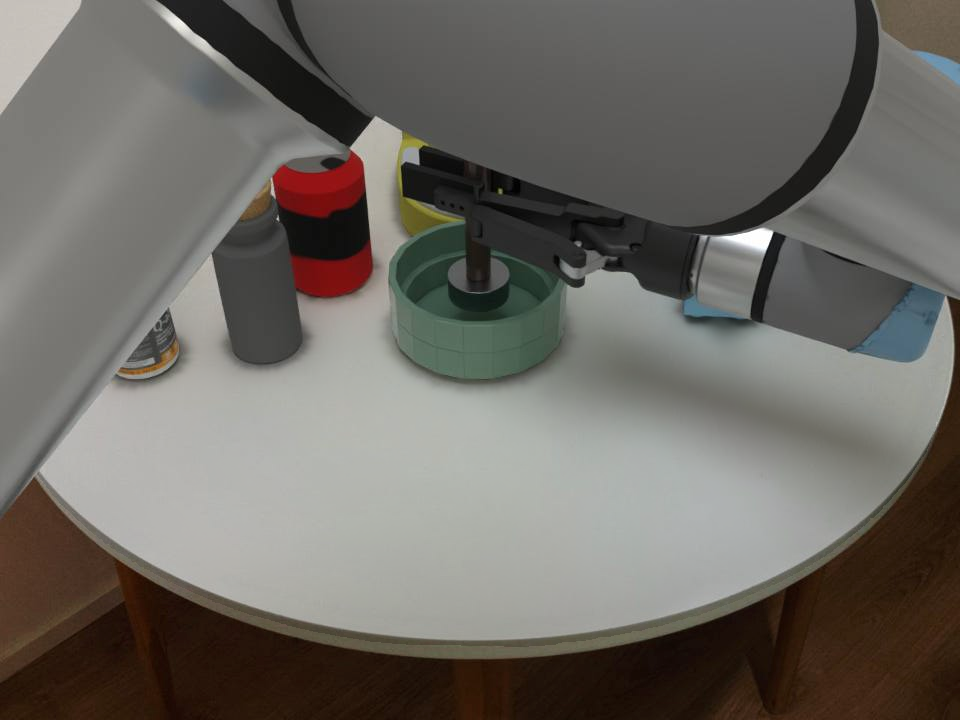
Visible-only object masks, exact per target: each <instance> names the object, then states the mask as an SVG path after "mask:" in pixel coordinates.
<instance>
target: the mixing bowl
mask: <svg viewBox="0 0 960 720" xmlns="http://www.w3.org/2000/svg"><path fill="white" fill-rule="evenodd" d="M491 257H492V258H495V259H498V260H499V261H501V262H503V263H504V264H505V265H506V266H507V268H508V269H509V272H510V294H509V298H508V300H507V301H506V303H505V304H504V305H502V306H501V307H499V308H497V309H495V310H492V311H488V312H480V313H477V312H468V311H465V310H462V309H460V308H458V307H456V306H455V305H454V304H453V303H452V302H451V301H450V299H449V296H448V276H447V274H448V270H449V268H450V267H451V266H452V265H453V264H454V263H455V262H457V261H458V260H460V259H463V258H466V248H465V220H461V221H456V222H451V223H445V224H440V225H437V226H435V227H432V228H430V229H427V230H425V231H423V232H420V233H418V234H416V235H414V236H412V237H410V238H408V240H407V241H405V242H404V243H402V244H400V246H399V247H398V248H397V250H396V251H395V253H394V254H393V256H392V258H391V260H390V261H389V264H388V265H389V266H388V275H387V276H388V277H387V281H388V282H387V283H388V295H389V306H390V318H391V319H390V321H391V331H392V334H393V336H394V339H395V340H396V343H397V345H398V348H399V349H400V350H401V351H402V352H403V353H404V354H405V355H406V356H407V357H409V358H410V359H411V360H412V361H413V362H414V363H415V364H417V365H419V366H421V367H424V368H426V369H428V370H430V371H431V372H434V373H436V374H439V375H444V376H449V377H453V378H458V379H463V380H485V379H487V380H493V379H498V378H502V377H506V376H510V375H514V374H519V373H522V372H525V371H526V370H528V369H530V368H531V367H534V366H536V365H537V364H540V363H542V362H543V361H544V360H545V359H546V358H547V357H548V356H549V355H550V354H551V353H552V352H553V351H554V350H555V349H556V348H557V347H558V346H559V343H560V341H561V339H562V336H563V334H564V331H565V325H566V306H567V291H568V284H566V283H565V282H564V281H563V280H561V279H560V278H559V277H558V276H556V275H555V274H554V273H551V272H549V271H546V270H544V269H541V268H539V267H536V266H534V265H531V264H529V263H526V262H524V261H522V260H519V259H517V258H514V257H512V256H509V255H507V254H504V253H502V252H499V251H497V250H494V249H492V248H491Z"/></svg>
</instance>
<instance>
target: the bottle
mask: <svg viewBox="0 0 960 720" xmlns="http://www.w3.org/2000/svg"><path fill="white" fill-rule="evenodd" d="M278 218H279V217H278V205H277V201H276V198H275V196H274V195H273V194H272V179H270V180H269V181H268V183H267V184H266V185H265V187H264V188H263V189H262V190H261V192H260V193H259V194H258V195H257V197H256V198H255V199H254V200H253V202H252V203H251V204H250V205H249V207H248V208H247V209H246V210H245V212H244V213H243V214H242V216H241V217H240V218H239V219H238V221H237V222H236V223H235V224H234V226H233V227H232V228H231V229H230V231H229V232H228V233H227V234H226V236H225V237H224V238H223V239H222V241H221V242H220V243H219V244H218V246H217V247H216V248H215V250H214V251H213V252H212V253H211V258H212V264H213V268H214V272H215V277H216V282H217V287H218V292H219V297H220V301H221V305H222V306H221V307H222V311H223V314H224V320H225V322H226V323H225V324H226V328H227V333H228V337H229V342H230V346H231V348H232V351H233V353H234V354H235V356H237V357H238V358H240V359H241V360H243V361H245V362H248V363H252V364H258V365H260V364H261V365H262V364H273V363H276V362H280V361H283V360H284V359H287V358H289V357H290V356H292V355H293V354H294V353H296V351H298V350H299V348H300V346H301V344H302V341H303V331H302V323H301V315H300V308H299V302H298V296H297V287H295V282H294V275H293V269H292V263H291V256H290V250H289V244H288V238H287V233H286V230H285V227H284V226H283V224H282V223H281V222H279V219H278Z"/></svg>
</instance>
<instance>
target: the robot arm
mask: <svg viewBox="0 0 960 720" xmlns="http://www.w3.org/2000/svg"><path fill="white" fill-rule="evenodd" d="M80 1H81V2H80V5H79V7H78V10H77V11H76V12H75V13H74V15H73V16H72V17H71V19H70V20H69V22H68V23H67V24H66V26H65V27H64V28H63V30H62V31H61V33H60V34H59V35H58V36H57V38H56V39H55V40H54V42H53V43H52V45H51V46H50V47H49V48H48V49H47V51H46V52H45V54H44V55H43V57H42V58H41V59H40V61H39V62H38V64H37V65H36V66H35V67H34V69H33V70H32V71H31V73H30V74H29V76H28V77H27V78H26V79H25V81H24V82H23V84H22V85H21V86H20V88H19V89H18V90H17V91H16V93H15V95H14V96H13V97H12V98H11V100H10V101H9V103H8V104H7V105H6V107H5V108H4V110H3V111H1V113H0V520H2V518H3V517H4V515H6V513H7V512H8V510H9V509H10V508H11V507H12V506H13V504H14V503H15V501H16V500H18V498H19V496H21V494H22V493H23V492H24V491H25V489H26V488H27V487H28V485H29V484H30V483H31V482H32V480H33V479H34V478H35V477H36V475H37V474H38V473H39V471H40V470H41V469H42V467H43V466H44V465H45V464H46V462H47V461H48V460H49V459H50V458H51V456H52V455H53V454H54V452H56V450H57V449H58V448H59V446H60V445H61V444H62V442H63V441H64V440H65V439H66V437H67V436H68V435H69V434H70V432H71V431H72V430H73V428H74V427H75V426H76V425H77V424H78V422H79V421H80V420H81V419H82V417H83V416H84V415H85V414H86V412H87V411H88V409H89V408H90V407H91V406H92V405H93V403H94V402H95V401H96V400H97V398H98V397H99V396H100V395H101V393H102V392H103V391H104V389H105V388H106V387H107V386H108V385H109V383H110V382H111V381H112V379H113V378H114V376H116V375H117V374H116V373H117V372H118V370H119V369H120V368H121V367H122V365H123V364H124V363H125V362H126V360H127V359H128V358H129V357H130V355H131V354H132V353H133V352H134V350H135V349H136V348H137V347H138V345H139V344H140V343H141V341H142V340H143V339H144V338H145V336H146V335H147V334H148V333H149V331H150V330H151V329H152V328H153V326H154V325H155V324H156V323H157V321H158V320H159V319H160V318H161V316H162V315H163V314H164V313H165V311H166V310H167V309H168V307H169V308H170V307H171V305H172V304H173V302H175V300H176V299H177V298H178V296H179V295H180V294H181V293H182V291H183V290H184V289H185V287H186V286H187V285H188V284H189V282H190V281H191V280H192V278H193V277H194V276H195V275H196V274H197V272H198V271H200V269H201V267H202V266H203V265H204V264H205V262H206V261H207V260H208V258H209V257H210V256H212V254H211V253H212V252H213V251H214V250H215V248H216V247H217V246H218V244H219V243H220V242H221V241H222V239H223V238H224V237H225V236H226V234H227V233H228V232H229V231H230V229H231V228H232V227H233V226H234V224H235V223H236V222H237V221H238V219H239V218H240V217H241V216H242V214H243V213H244V212H245V210H246V209H247V208H248V207H249V205H250V204H251V203H252V202H253V200H254V199H255V198H256V197H257V195H258V194H259V193H260V192H261V190H262V189H263V188H264V187H265V185H266V184H267V183H268V181H269V180H272V176H273V175H274V174H275V173H276V171H277V170H278V169H279V168H280V167H281V166H283V165H284V164H286V163H287V162H289V161H290V160H292V159H296V158H304V157H314V156H324V155H334V154H344V153H346V152H347V151H348V149H349V148H350V149H351V147H352V146H353V145H354V143H355V142H356V141H357V140H358V139H359V137H360V136H361V135H362V134H363V132H364V131H365V130H366V129H367V127H368V126H370V124H371V123H372V121H373V120H374V119H375V118H376V117H377V118H378V119H380V120H382V121H384V122H385V123H387V124H388V125H390V126H392V127H394V128H396V129H397V130H399V131H401V133H402V132H404V133H406V134H408V135H410V136H413V137H415V138H417V139H419V140H421V141H423V142H425V143H427V144H429V145H431V146H433V147H435V148H432V147H429V146H425V145H423V146H422V147H421V148H420V149H419V165H417V164H413V163H410V162H405V163H403V164H402V165H401V178H402V193H403V197H406V198H409V199H413V200H416V201H420V202H423V203H427V204H430V205H434V206H435V207H436V208H437V209H439V210H441V211H445V212H448V213H452V214H455V215H459V216H462V217H466V218H469V219H470V224H471V239H472V240H473V241H475V242H477V243H480V244H482V245H484V246H487V247H489V248H492V249H494V250H497V251H499V252H502V253H504V254H507V255H509V256H512V257H514V258H517V259H519V260H522V261H524V262H526V263H529V264H531V265H534V266H536V267H539V268H541V269H544V270H546V271H549V272H551V273H554V274H555V275H556V276H558V277H559V278H560V279H561V280H563V281H564V282H565V283H566V284H567V286H569V287H570V288H574V289H580V288H582V287H584V286H585V285H586V276H587V275H589V274H591V273H594V272H596V271H598V270H603V271H606V272H610V273H611V272H612V273H617V272H618V273H619V272H620V273H628V274H631V275H632V276H634V278H635V279H636V280H637V282H638V285H639V286H640V287H641V288H642V289H643V290H645V291H648V292H650V293H655V294H657V295H661V296H664V297H668V298H671V299H675V300H678V301H682V302H683V301H685V300H687V299H690V298H692V297H693V296H694V294H695V296H696V301H697V302H698V304H699V305H701V306H704V307H708V308H711V309H715V310H718V311H722V312H725V313H729V314H732V315H736V316H739V317H743V318H746V319H747V320H751V321H753V322H756V323H759V324H762V325H765V326H769V327H772V328H775V329H778V330H782V331H784V332H788V333H791V334H794V335H798V336H801V337H804V338H806V339H807V338H808V339H811V340H813V341H817V342H820V343H823V344H826V345H830V346H833V347H836V348H839V349H843V350H846V351H847V352H848V353H851V354H860V355H863V356H864V355H865V356H869V357H873V358H877V359H881V360H887V361H891V362H897V363H904V364H905V363H906V364H908V363H913V362H915V361H918V360H919V359H920V358H922V357H923V356H924V355H925V353H926V351H927V349H928V347H929V345H930V342H931V339H932V337H933V333H934V331H935V328H936V325H937V321H938V319H939V316H940V313H941V310H942V307H943V304H944V301H945V299H946V296H948V297H951V298H953V299H956V300H958V301H960V63H959V62H956V61H954V60H953V59H950V58H948V57H945V56H941V55H938V54H935V53H931V52H927V51H921V50H914V49H910V48H909V47H907V46H906V45H904V44H903V43H901V42H900V41H899V40H897V39H896V38H894V37H893V36H891V34H889V33H888V32H886V31H885V30H883V26H882V19H881V15H880V10H879V8H878V5H877V2H876V0H80ZM436 148H437V149H436ZM463 159H465V160H468V161H470V162H473V163H475V164H478V165H481V166H483V167H486V168H489V169H491V192H489V191H485V182H482V181H481V182H480V181H476V180H472V179H469V178H465V177H464V163H463ZM499 189H502V194H499ZM746 319H745V320H746Z"/></svg>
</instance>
